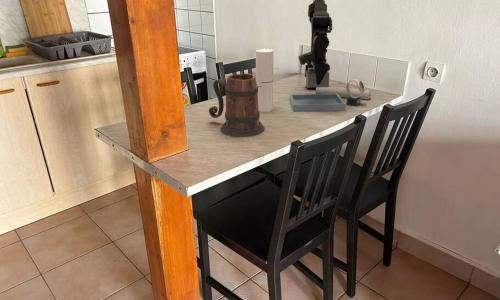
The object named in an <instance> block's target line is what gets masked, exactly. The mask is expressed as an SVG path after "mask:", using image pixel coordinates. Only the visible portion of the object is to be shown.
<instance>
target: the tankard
mask: <svg viewBox="0 0 500 300" xmlns="http://www.w3.org/2000/svg"><path fill="white" fill-rule="evenodd" d="M212 86H213V87H212V88H213V90H214V92H215V95H216V97H217V100H218V107H217V106H215V105H214V106H212V107H209V108H208V113H209V116H210V117H212V118H213V119H217V118H219V117H221V116H222V115H223V112H224V105H225V112H224V119H225V122H224V123H223V124H222V126H221V128H220V129H219V131H220V132H221V134H223V135H224V136H227V137H231V138H251V137H256V136H259V135H260V134H262V133H264V132H265V131H266V128H265V126H264V125H263V124H262V121H260V116H261V115H260V111H258V86H257V83H256V75H254V74H253V73H237V74H231V75H228V76H227V77H226V82H225V80H223V79H221V78H218V79H217V80H214V82H213V85H212ZM222 93H225V101H224V98H223V97H224V96H223V94H222ZM224 102H225V104H224ZM216 113H217V114H216Z"/></svg>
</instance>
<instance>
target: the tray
mask: <svg viewBox="0 0 500 300" xmlns="http://www.w3.org/2000/svg"><path fill="white" fill-rule="evenodd" d="M288 99H289V100H288V101H289V103H290V106H291V108H292V110H291V111H292V112H293V113H297V112H299V113H300V112H301V113H302V112H307V113H308V112H346V106H347V103H346V102H345V101H344V100H343V98H341V97H340V96H339V95H338V94H316V93H297V94H296V93H293V94H292V93H291V94H290V93H289V98H288Z"/></svg>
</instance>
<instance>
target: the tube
mask: <svg viewBox="0 0 500 300" xmlns="http://www.w3.org/2000/svg"><path fill="white" fill-rule="evenodd" d="M349 89H350V92H351V95H353V96H360V95H361V92H360V91H359V89H358V88H355V87H349ZM371 93H372V92H371V90H370V89H366V88H365V91H364V93H363V94H362V95H361V96H360V97H361V100H363V101H364V100H365V101H367V100H369V99H371V95H372V94H371ZM315 94H338V95H339V96H340V97H341V99H347V98H349V97H350V96H349V95H348V94H347V91H346V87H344V86H343V87H342V86H340V87H339V86H332V85H331V86H329V87H316V89H315Z"/></svg>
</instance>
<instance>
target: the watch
mask: <svg viewBox="0 0 500 300" xmlns="http://www.w3.org/2000/svg"><path fill="white" fill-rule="evenodd" d="M351 82H355V83H356V87H357V89H359V91H360V92H361V95H362V94H363V93H364V91H365V89H366V87H365V85H364V82H363V80H360V79H357V78H356V79H351V80H349V81H348V82H347V83H346V85H345V88H346V91H347V94H348V95H349V96H350V97H349V98H346V99H347V100H346V106H350V107H358V106H359V105H360V104H361V100H362V99H361V97H360V96H361V95H360V96H353V95H351V92H350V89H349V88H350V87H349V84H350V83H351Z"/></svg>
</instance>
